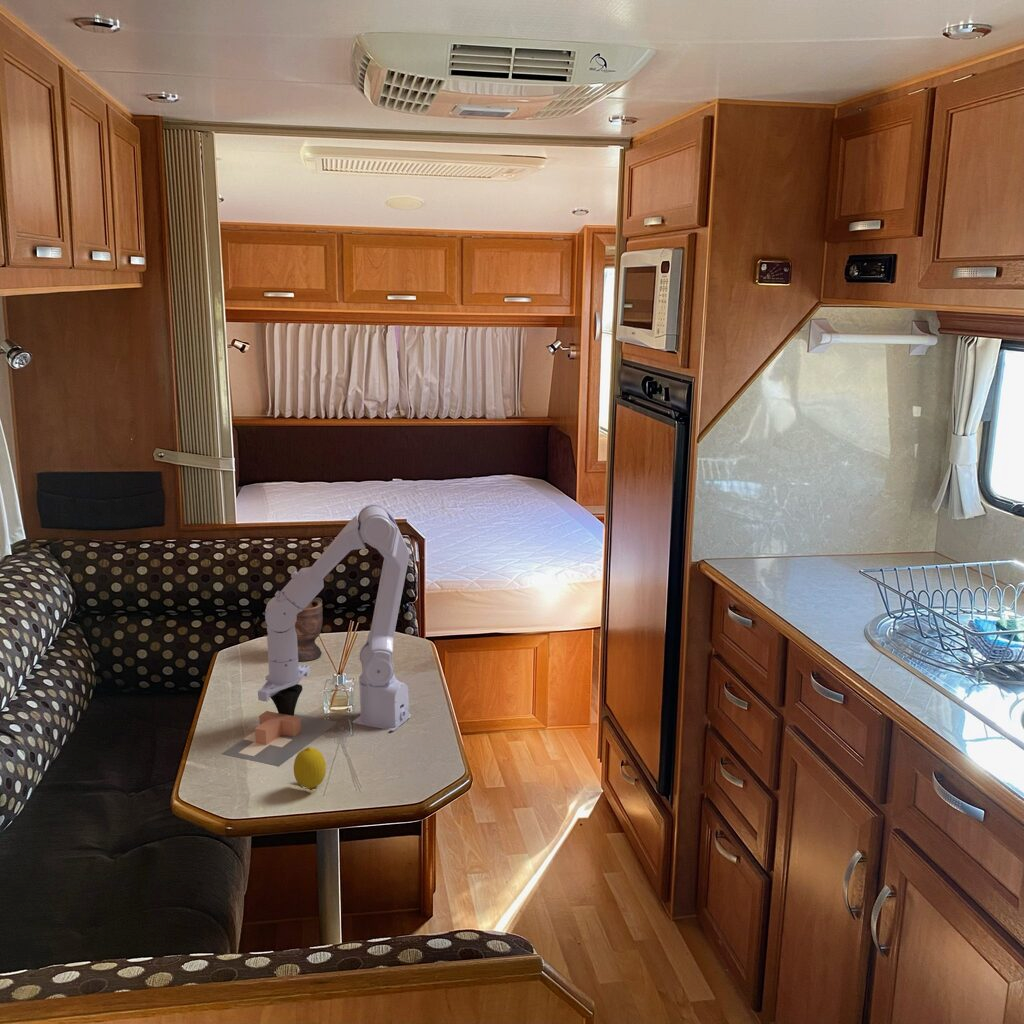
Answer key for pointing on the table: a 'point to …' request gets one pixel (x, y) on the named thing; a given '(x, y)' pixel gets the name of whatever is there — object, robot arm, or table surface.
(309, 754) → the lemon
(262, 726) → the t block
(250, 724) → the table surface
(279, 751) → the slate board
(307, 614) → the mortar and pestle
